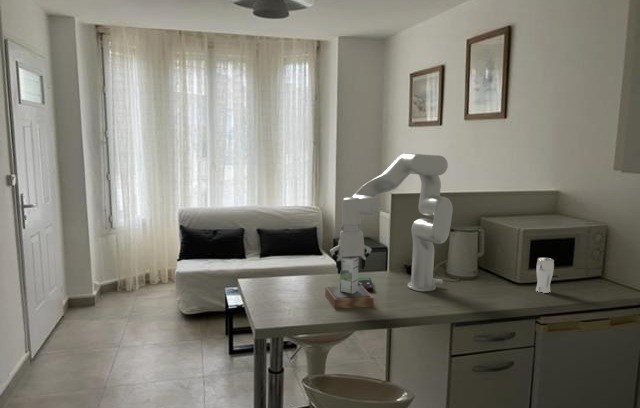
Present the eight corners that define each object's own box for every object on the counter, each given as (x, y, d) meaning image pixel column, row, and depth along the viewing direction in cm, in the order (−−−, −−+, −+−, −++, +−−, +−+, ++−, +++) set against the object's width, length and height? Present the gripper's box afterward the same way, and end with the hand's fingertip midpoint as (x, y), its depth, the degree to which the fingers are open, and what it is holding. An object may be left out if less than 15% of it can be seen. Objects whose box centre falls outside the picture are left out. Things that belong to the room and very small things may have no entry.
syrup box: (358, 290, 194) (359, 256, 192) (351, 294, 189) (352, 259, 187) (345, 288, 197) (346, 254, 195) (339, 292, 192) (340, 257, 190)
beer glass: (536, 293, 210) (539, 260, 208) (533, 288, 217) (535, 256, 215) (553, 294, 208) (556, 261, 207) (549, 290, 215) (552, 257, 213)
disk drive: (373, 293, 206) (370, 283, 220) (374, 287, 205) (370, 277, 220) (350, 293, 206) (348, 282, 220) (350, 286, 205) (348, 276, 220)
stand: (361, 293, 203) (361, 284, 202) (373, 306, 187) (373, 296, 187) (325, 295, 199) (325, 286, 199) (334, 308, 184) (334, 298, 183)
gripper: (332, 230, 184) (332, 272, 186) (374, 228, 188) (373, 270, 190) (328, 226, 191) (327, 267, 194) (368, 225, 195) (368, 265, 197)
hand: (350, 269), depth 192 cm, fingers open, 9 cm apart
